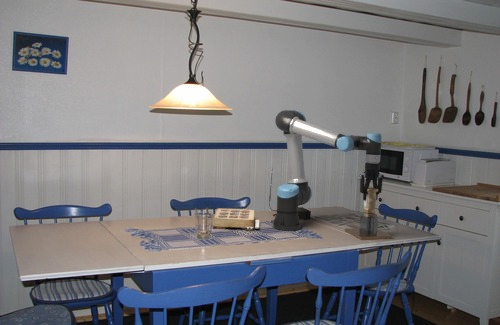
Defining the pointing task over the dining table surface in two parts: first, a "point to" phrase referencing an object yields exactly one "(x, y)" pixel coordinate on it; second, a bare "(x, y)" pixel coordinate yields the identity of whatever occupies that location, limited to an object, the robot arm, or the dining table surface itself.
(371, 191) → the column
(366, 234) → the stand
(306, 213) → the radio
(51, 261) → the dining table surface
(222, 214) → the beige slotted box
